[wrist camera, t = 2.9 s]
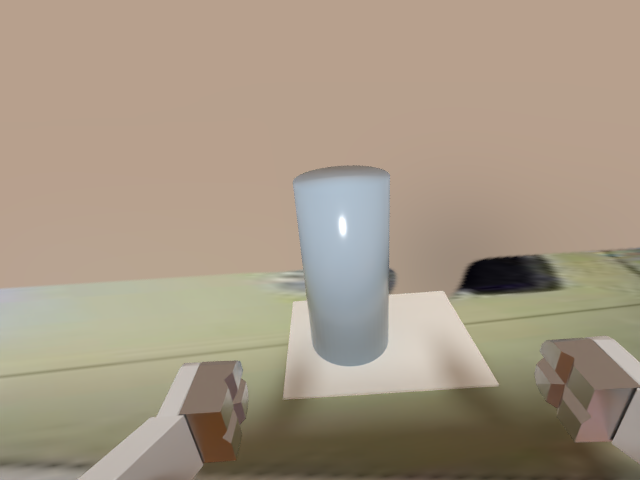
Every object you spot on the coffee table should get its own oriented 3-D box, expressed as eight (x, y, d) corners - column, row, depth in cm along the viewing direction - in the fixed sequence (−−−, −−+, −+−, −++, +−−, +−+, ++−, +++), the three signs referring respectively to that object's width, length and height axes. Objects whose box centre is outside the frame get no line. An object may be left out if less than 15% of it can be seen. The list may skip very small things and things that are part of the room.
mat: (283, 403, 21) (282, 397, 20) (293, 306, 29) (293, 301, 29) (497, 390, 20) (499, 384, 20) (442, 295, 29) (443, 290, 29)
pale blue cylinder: (311, 368, 22) (289, 196, 17) (312, 315, 27) (295, 169, 22) (395, 363, 22) (399, 187, 17) (381, 310, 27) (380, 162, 22)
